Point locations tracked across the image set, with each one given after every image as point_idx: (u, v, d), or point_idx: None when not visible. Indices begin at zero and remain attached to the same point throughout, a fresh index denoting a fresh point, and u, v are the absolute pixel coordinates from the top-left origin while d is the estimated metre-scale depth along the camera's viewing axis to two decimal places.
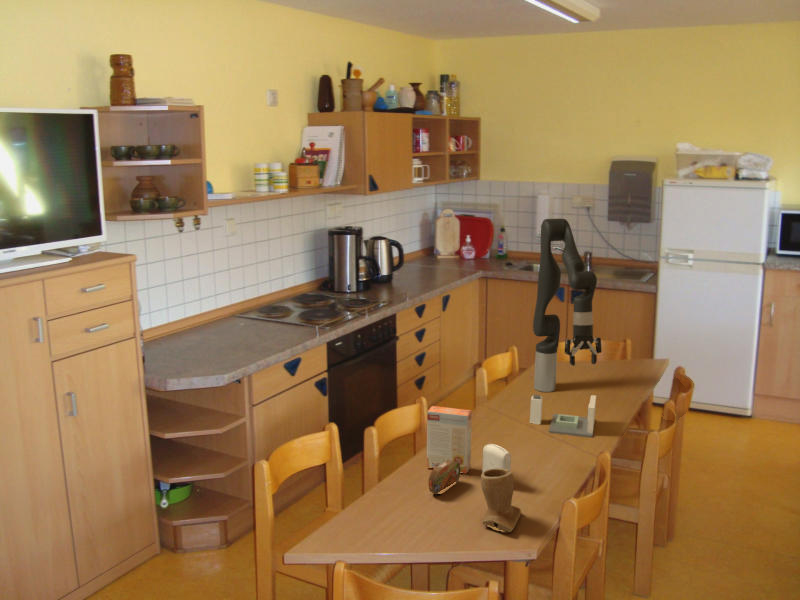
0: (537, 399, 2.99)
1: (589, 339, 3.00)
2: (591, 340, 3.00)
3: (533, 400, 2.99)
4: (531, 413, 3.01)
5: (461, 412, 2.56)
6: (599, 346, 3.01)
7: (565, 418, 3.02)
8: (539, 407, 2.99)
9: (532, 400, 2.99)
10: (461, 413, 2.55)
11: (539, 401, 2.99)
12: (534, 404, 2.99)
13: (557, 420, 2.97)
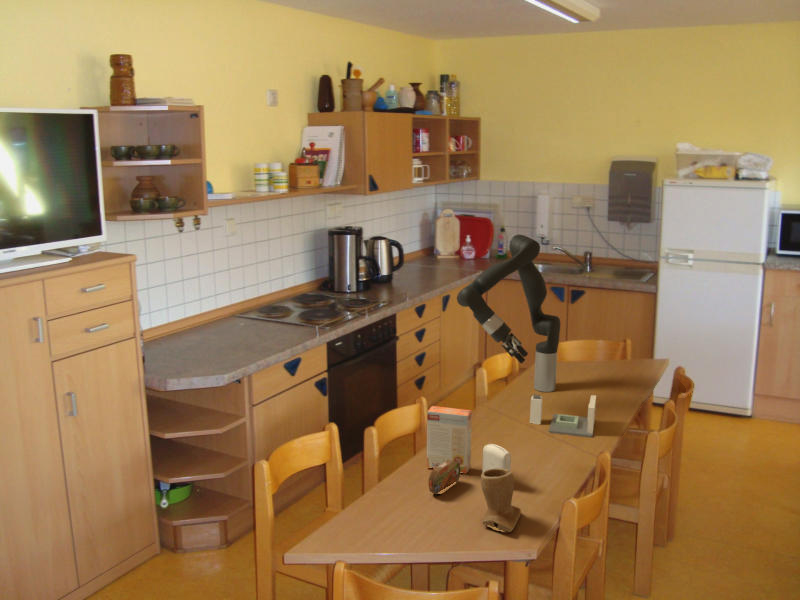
0: (537, 399, 2.99)
1: None
2: None
3: (533, 400, 2.99)
4: (531, 413, 3.01)
5: (461, 412, 2.56)
6: None
7: (565, 418, 3.02)
8: (539, 407, 2.99)
9: (532, 400, 2.99)
10: (461, 413, 2.55)
11: (539, 401, 2.99)
12: (534, 404, 2.99)
13: (557, 420, 2.97)
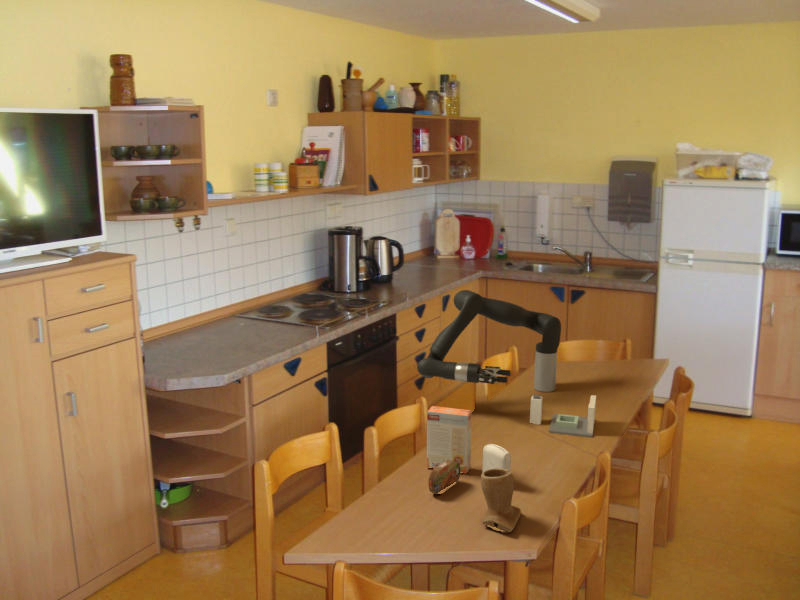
0: (537, 399, 2.99)
1: None
2: None
3: (533, 400, 2.99)
4: (531, 413, 3.01)
5: (461, 411, 2.56)
6: None
7: (565, 418, 3.02)
8: (539, 407, 2.99)
9: (532, 400, 2.99)
10: (461, 413, 2.55)
11: (539, 401, 2.99)
12: (534, 404, 2.99)
13: (557, 420, 2.97)
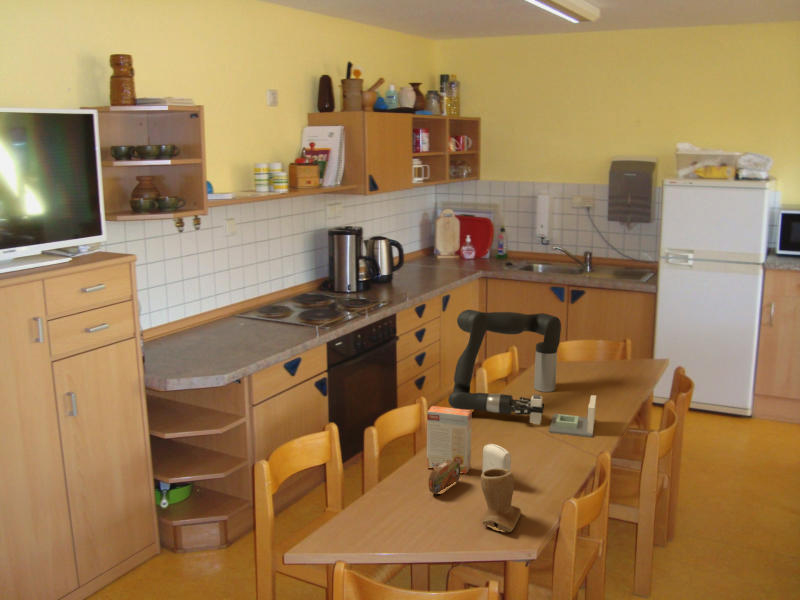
0: (537, 399, 2.99)
1: None
2: None
3: (533, 400, 2.99)
4: (531, 413, 3.01)
5: (461, 411, 2.56)
6: None
7: (565, 418, 3.02)
8: None
9: (532, 400, 2.99)
10: (461, 413, 2.55)
11: (539, 401, 2.99)
12: (534, 404, 2.99)
13: (557, 420, 2.97)
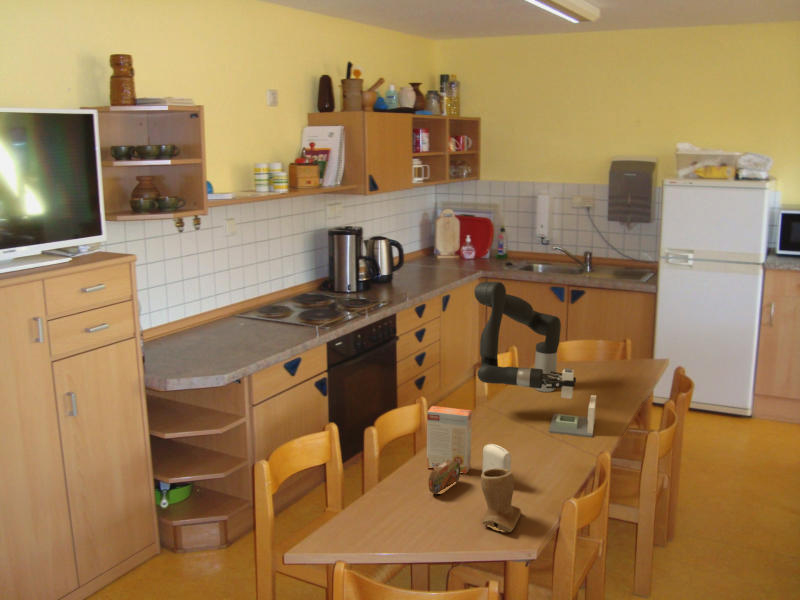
0: (569, 372, 2.93)
1: None
2: None
3: (565, 373, 2.93)
4: (562, 387, 2.95)
5: (461, 412, 2.56)
6: None
7: (565, 418, 3.02)
8: None
9: (564, 373, 2.93)
10: (461, 413, 2.55)
11: (571, 374, 2.93)
12: (566, 378, 2.94)
13: (557, 420, 2.97)
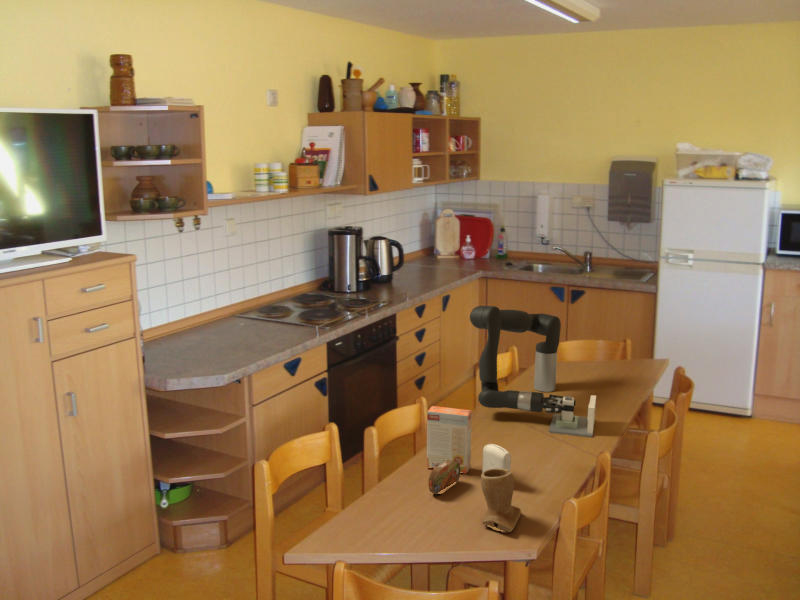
0: (569, 400, 2.95)
1: None
2: None
3: (565, 401, 2.95)
4: (563, 415, 2.97)
5: (461, 412, 2.56)
6: None
7: None
8: None
9: (564, 401, 2.96)
10: (461, 413, 2.55)
11: (571, 402, 2.95)
12: None
13: (557, 420, 2.97)
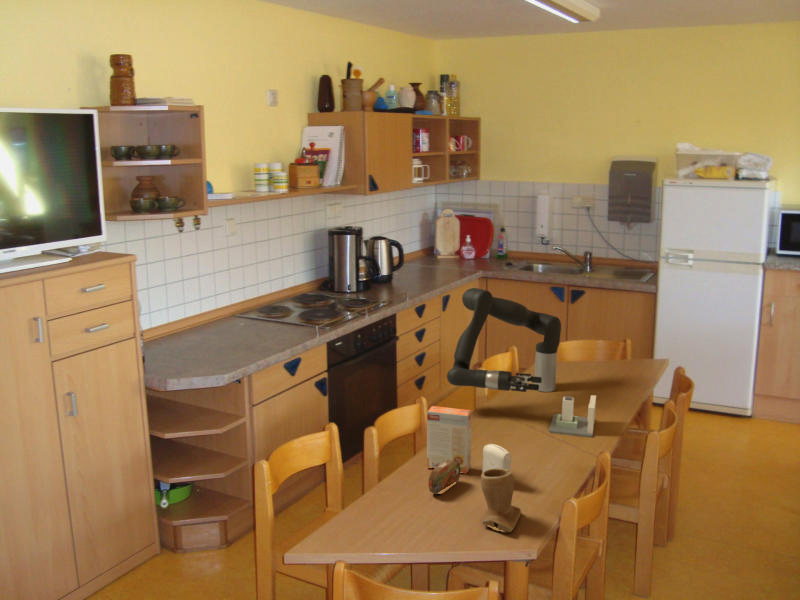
0: (569, 400, 2.95)
1: None
2: None
3: (565, 401, 2.96)
4: (563, 414, 2.97)
5: (461, 411, 2.56)
6: None
7: None
8: (571, 408, 2.95)
9: (564, 401, 2.96)
10: (461, 413, 2.55)
11: (571, 402, 2.95)
12: (566, 405, 2.96)
13: (557, 420, 2.97)
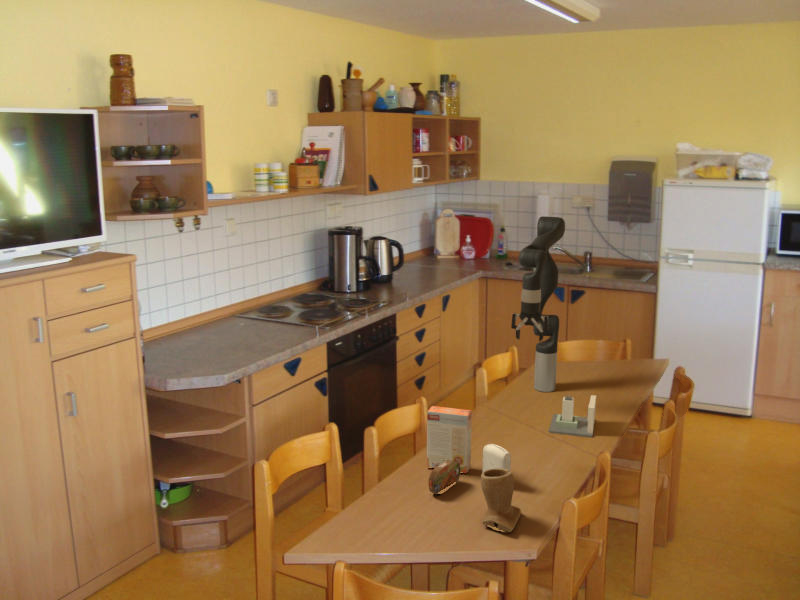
0: (569, 400, 2.95)
1: (535, 316, 3.03)
2: (537, 317, 3.03)
3: (565, 401, 2.96)
4: (563, 414, 2.97)
5: (461, 412, 2.56)
6: (545, 324, 3.02)
7: None
8: (571, 408, 2.95)
9: (564, 401, 2.96)
10: (461, 413, 2.55)
11: (571, 402, 2.95)
12: (566, 405, 2.96)
13: (557, 420, 2.97)
